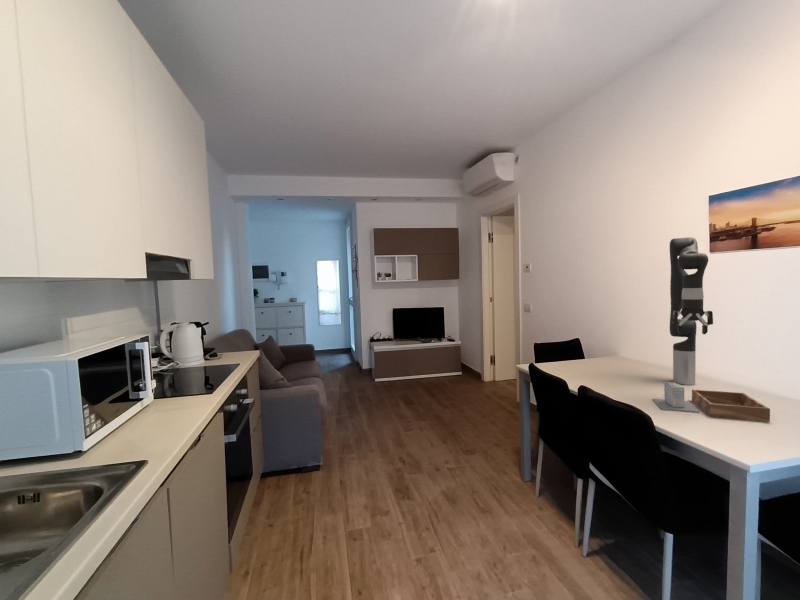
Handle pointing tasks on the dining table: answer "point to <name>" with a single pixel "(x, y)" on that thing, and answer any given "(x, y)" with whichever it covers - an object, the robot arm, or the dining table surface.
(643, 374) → the dining table surface
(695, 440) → the dining table surface
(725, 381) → the dining table surface
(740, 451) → the dining table surface
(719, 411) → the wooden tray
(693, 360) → the robot arm
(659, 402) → the slate mat
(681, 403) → the medicine box
